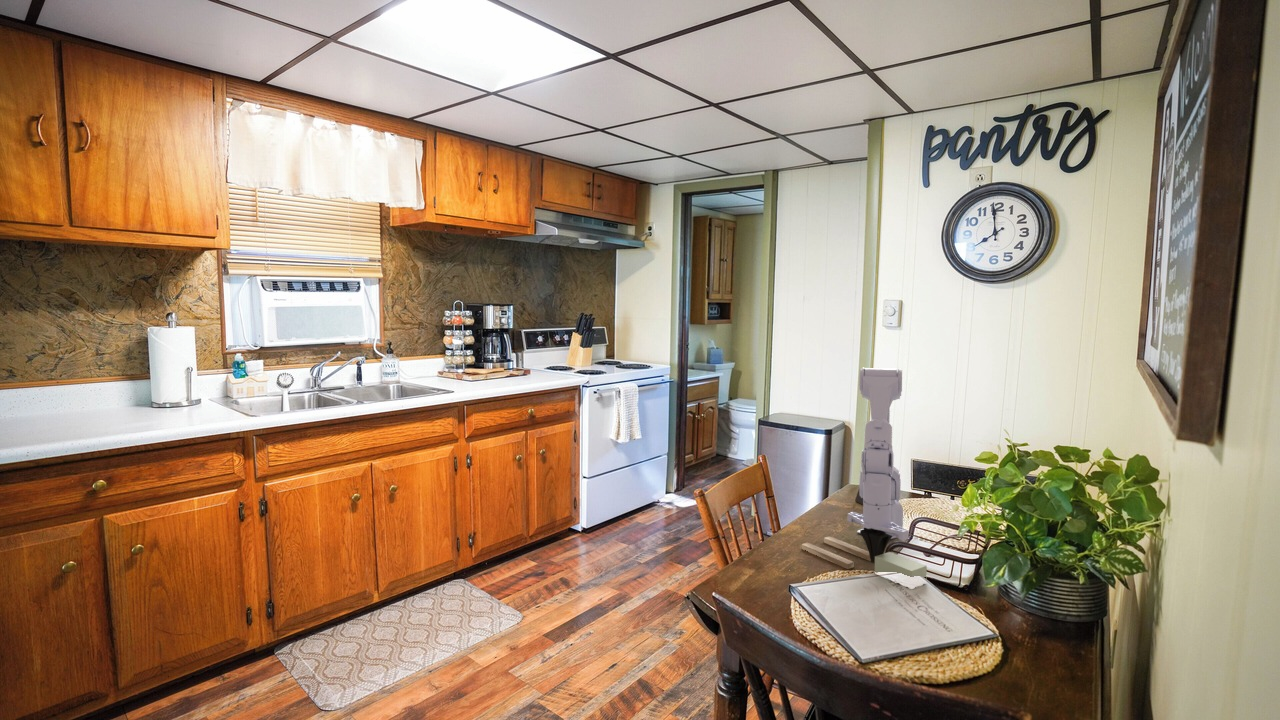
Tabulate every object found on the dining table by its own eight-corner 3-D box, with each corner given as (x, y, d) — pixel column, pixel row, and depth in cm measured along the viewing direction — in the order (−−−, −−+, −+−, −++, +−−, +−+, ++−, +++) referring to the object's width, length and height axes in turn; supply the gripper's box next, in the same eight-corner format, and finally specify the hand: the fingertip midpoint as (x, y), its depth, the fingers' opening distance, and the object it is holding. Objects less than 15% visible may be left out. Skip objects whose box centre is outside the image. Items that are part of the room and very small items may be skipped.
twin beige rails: (829, 540, 151) (829, 536, 151) (876, 559, 139) (876, 554, 139) (801, 549, 146) (801, 544, 146) (847, 569, 134) (847, 563, 134)
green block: (889, 569, 134) (889, 551, 134) (926, 584, 126) (926, 565, 126) (874, 574, 132) (874, 556, 131) (911, 589, 124) (911, 571, 124)
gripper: (838, 496, 137) (838, 554, 138) (893, 514, 124) (892, 577, 125) (859, 491, 140) (858, 548, 141) (915, 508, 128) (914, 569, 129)
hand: (876, 561), depth 134 cm, fingers closed
